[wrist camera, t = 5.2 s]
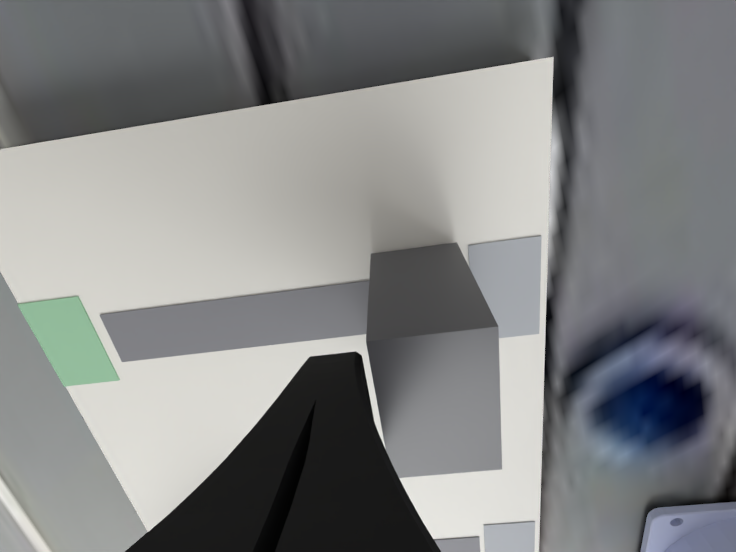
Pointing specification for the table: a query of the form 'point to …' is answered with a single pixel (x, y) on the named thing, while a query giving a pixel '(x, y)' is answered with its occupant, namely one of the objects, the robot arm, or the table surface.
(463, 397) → the handle
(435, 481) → the switch plate
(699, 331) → the table surface
